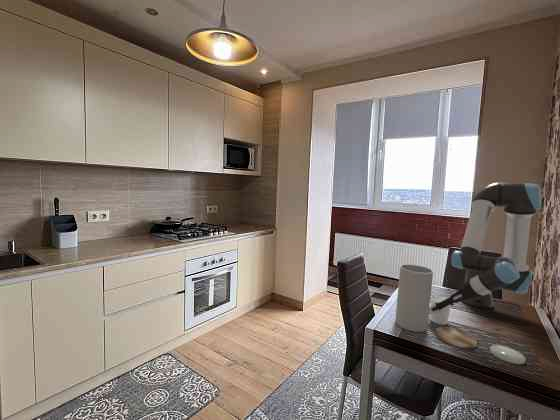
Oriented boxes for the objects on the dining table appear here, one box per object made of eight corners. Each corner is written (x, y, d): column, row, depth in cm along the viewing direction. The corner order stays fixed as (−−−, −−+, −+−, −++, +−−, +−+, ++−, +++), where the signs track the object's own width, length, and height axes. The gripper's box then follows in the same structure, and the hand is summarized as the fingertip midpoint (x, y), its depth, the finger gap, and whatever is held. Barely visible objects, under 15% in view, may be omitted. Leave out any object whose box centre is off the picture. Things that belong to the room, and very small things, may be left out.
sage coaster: (501, 346, 109) (501, 343, 109) (531, 361, 100) (532, 359, 100) (483, 349, 106) (483, 347, 106) (513, 366, 96) (513, 363, 96)
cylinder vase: (411, 317, 130) (416, 263, 127) (434, 331, 118) (440, 272, 116) (388, 320, 126) (393, 264, 123) (409, 334, 114) (415, 273, 112)
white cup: (425, 317, 131) (427, 296, 130) (441, 317, 131) (443, 296, 131) (435, 325, 123) (438, 303, 122) (453, 325, 124) (455, 303, 123)
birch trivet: (452, 327, 122) (452, 324, 122) (485, 345, 109) (485, 342, 109) (427, 331, 117) (427, 328, 117) (458, 350, 104) (459, 347, 104)
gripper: (472, 301, 107) (425, 324, 122) (492, 291, 120) (447, 313, 134) (459, 283, 111) (414, 307, 125) (479, 275, 123) (437, 298, 138)
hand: (431, 310), depth 130 cm, fingers open, 8 cm apart
